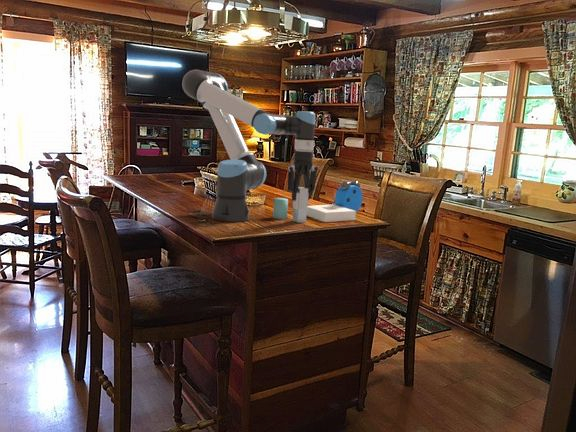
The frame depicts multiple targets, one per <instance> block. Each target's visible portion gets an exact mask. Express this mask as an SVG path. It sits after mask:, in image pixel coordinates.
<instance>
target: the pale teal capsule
mask: <svg viewBox="0 0 576 432" xmlns="http://www.w3.org/2000/svg"><path fill="white" fill-rule="evenodd" d="M288 207H289V199H288V198H285V197H274V198H273V209H272V210H273V211H272V213H273V214H272V218H273V219H275V220H287V219H288V210H289V209H288Z"/></svg>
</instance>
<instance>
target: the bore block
mask: <svg viewBox="0 0 576 432" xmlns="http://www.w3.org/2000/svg"><path fill="white" fill-rule="evenodd" d="M356 215H357V212H356V211H354V210H351V209H348V208H344V207H341V206H338V205H335V204H316V205H308V208H307V215H306V217H310V218H312V219H315V220H317V221H321V222H323V223H330V222H331V223H332V222H334V223H335V222H345V221H346V222H348V221H356V218H357V217H356Z"/></svg>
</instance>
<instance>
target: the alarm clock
mask: <svg viewBox="0 0 576 432" xmlns="http://www.w3.org/2000/svg"><path fill="white" fill-rule="evenodd" d="M363 199H364V197H363V192H362V189H361V183H360V182H359V181H358V180H351V181H350V182H349V181H347V180H345V181H341V182H340V185H339V187H338V189H337V191H336V192H335V195H334V205H338V206H341V207H344V208H348V209H351V210H354V211H356V213H357V212H358V211H359V210H360V208H361V207H362V204H363Z"/></svg>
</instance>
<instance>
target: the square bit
mask: <svg viewBox="0 0 576 432" xmlns="http://www.w3.org/2000/svg"><path fill="white" fill-rule="evenodd" d="M297 193H299V196H298V209H295V208H293V207H292V209H293V210H292V222H294V223H298V224H300V223H307V216H306V215H307V200H308V188H305V186H298V190H297ZM308 201H309V200H308Z"/></svg>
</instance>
